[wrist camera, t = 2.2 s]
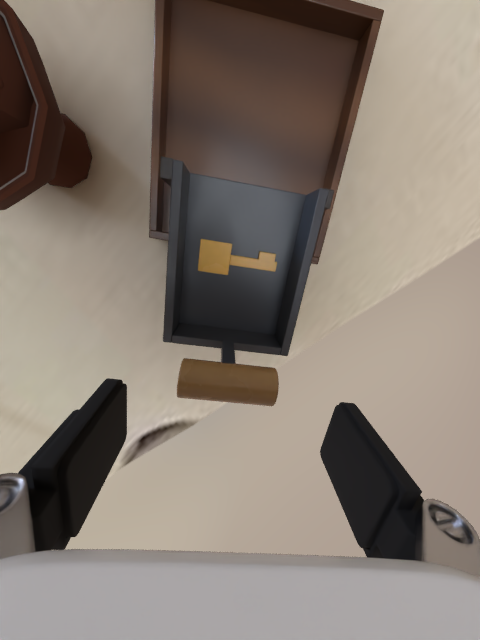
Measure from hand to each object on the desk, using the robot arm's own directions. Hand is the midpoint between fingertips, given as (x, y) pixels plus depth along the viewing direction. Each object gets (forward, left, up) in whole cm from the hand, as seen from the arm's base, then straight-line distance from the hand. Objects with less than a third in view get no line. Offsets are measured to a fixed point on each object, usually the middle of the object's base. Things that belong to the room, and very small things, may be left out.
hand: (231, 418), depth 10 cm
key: (-6, 0, -9) cm, 11 cm away
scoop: (-5, 0, -10) cm, 11 cm away
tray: (-15, 0, -16) cm, 22 cm away
